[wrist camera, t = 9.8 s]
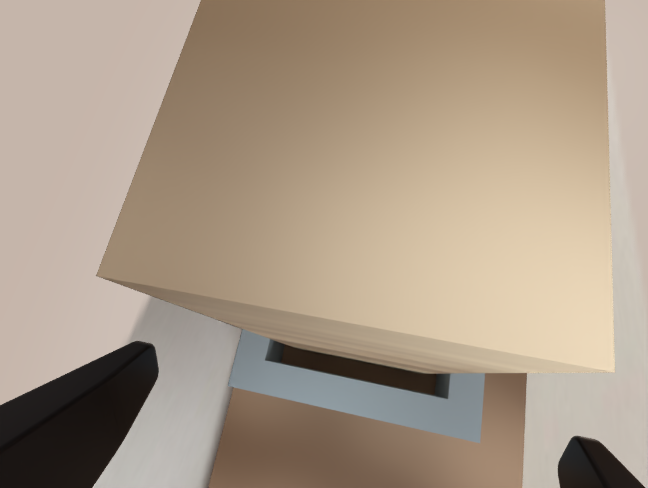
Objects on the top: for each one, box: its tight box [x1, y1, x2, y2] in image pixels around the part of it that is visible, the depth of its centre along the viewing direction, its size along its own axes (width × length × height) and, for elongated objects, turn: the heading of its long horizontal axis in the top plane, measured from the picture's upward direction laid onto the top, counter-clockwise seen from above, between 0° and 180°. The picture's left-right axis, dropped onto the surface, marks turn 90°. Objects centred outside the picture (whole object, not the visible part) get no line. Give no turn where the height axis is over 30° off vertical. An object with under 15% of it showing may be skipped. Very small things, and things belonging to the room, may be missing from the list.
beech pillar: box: [96, 0, 615, 374], centre depth 10 cm, size 4×4×12 cm
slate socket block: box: [228, 329, 485, 443], centre depth 14 cm, size 8×8×2 cm
